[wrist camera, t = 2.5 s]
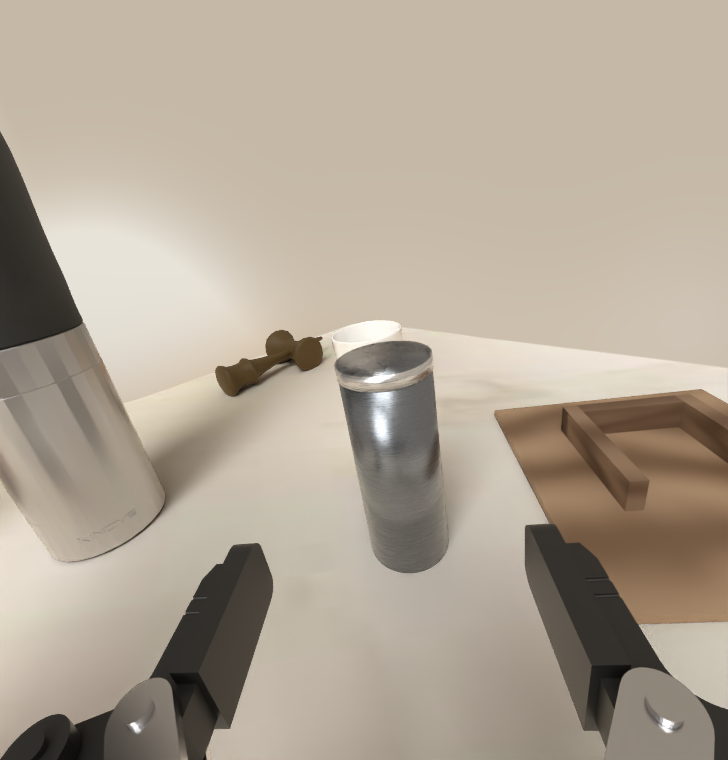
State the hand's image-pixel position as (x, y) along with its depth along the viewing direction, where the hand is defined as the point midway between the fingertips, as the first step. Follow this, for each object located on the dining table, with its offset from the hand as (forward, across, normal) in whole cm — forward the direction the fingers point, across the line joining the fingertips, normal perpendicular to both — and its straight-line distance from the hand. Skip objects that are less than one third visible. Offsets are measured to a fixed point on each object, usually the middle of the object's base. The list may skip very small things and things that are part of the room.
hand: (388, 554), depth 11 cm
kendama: (+48, +20, +12) cm, 54 cm away
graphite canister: (+12, 0, +12) cm, 16 cm away
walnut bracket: (+17, -20, +12) cm, 29 cm away
